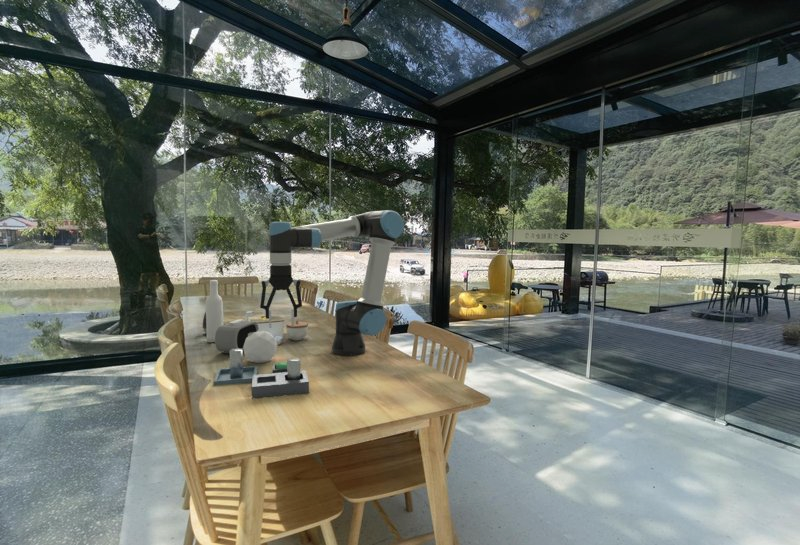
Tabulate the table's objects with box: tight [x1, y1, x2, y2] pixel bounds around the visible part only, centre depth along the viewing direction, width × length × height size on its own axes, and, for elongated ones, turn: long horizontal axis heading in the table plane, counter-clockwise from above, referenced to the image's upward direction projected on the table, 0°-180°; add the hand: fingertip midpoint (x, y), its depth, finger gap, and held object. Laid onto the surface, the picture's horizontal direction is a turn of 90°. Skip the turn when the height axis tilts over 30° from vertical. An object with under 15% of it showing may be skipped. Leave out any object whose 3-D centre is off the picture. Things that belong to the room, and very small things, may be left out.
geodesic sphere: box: [243, 329, 278, 364], centre depth 173 cm, size 14×14×14 cm
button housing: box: [271, 363, 287, 373], centre depth 156 cm, size 7×7×4 cm
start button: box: [275, 361, 287, 369], centre depth 156 cm, size 4×4×3 cm
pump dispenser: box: [201, 310, 207, 334], centre depth 222 cm, size 10×10×15 cm
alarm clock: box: [214, 318, 260, 354], centre depth 191 cm, size 21×10×13 cm, turn 170°
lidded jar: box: [285, 319, 309, 341], centre depth 213 cm, size 11×11×9 cm
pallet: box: [251, 370, 310, 400], centre depth 143 cm, size 18×12×4 cm, turn 107°
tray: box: [213, 365, 258, 387], centre depth 153 cm, size 14×14×2 cm
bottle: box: [205, 279, 224, 343], centre depth 206 cm, size 8×8×30 cm
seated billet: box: [286, 358, 301, 381], centre depth 144 cm, size 4×4×10 cm
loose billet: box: [229, 349, 244, 379], centre depth 153 cm, size 4×4×10 cm
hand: (281, 326), depth 154 cm, fingers open, 7 cm apart
